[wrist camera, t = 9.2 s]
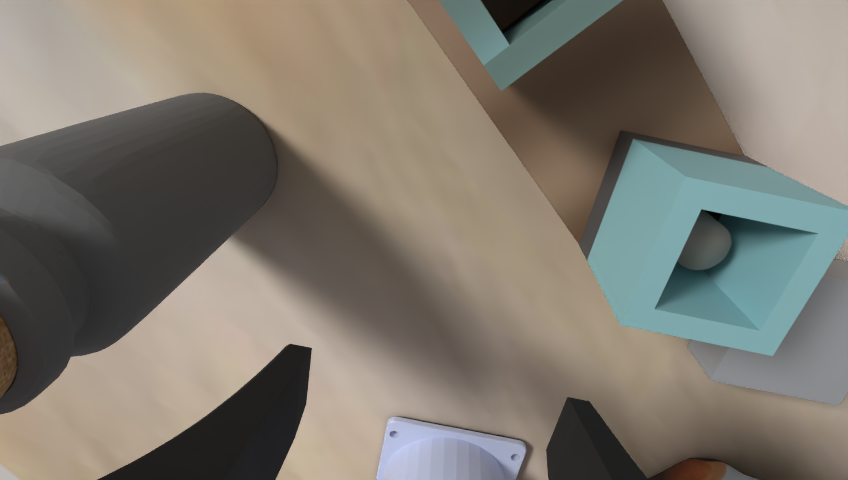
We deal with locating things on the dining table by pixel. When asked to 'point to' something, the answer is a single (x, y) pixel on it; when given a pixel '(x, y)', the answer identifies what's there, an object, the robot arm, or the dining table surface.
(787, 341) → the block
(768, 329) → the sleeve
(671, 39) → the peg board
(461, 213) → the dining table surface
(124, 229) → the bottle
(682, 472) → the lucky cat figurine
